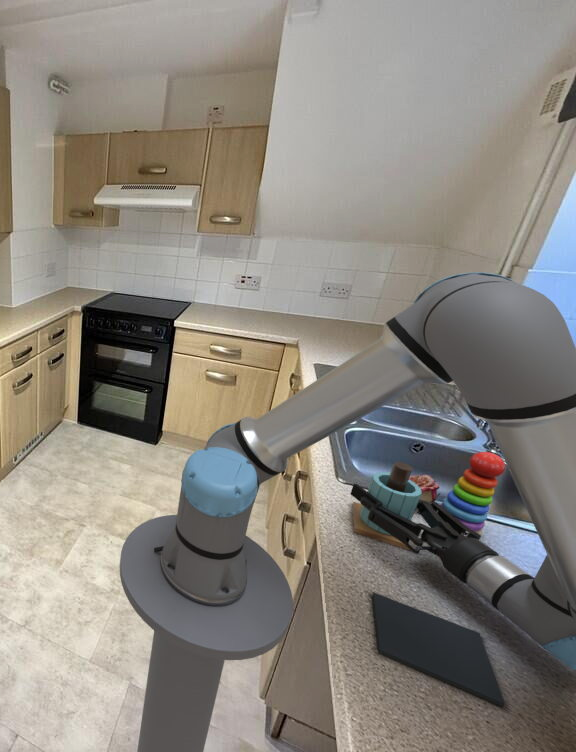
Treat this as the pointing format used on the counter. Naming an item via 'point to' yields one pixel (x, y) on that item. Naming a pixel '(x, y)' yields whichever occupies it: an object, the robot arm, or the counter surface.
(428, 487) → the flower
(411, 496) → the planter pot
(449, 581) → the counter surface
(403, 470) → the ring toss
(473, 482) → the stacking toy
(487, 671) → the mat
